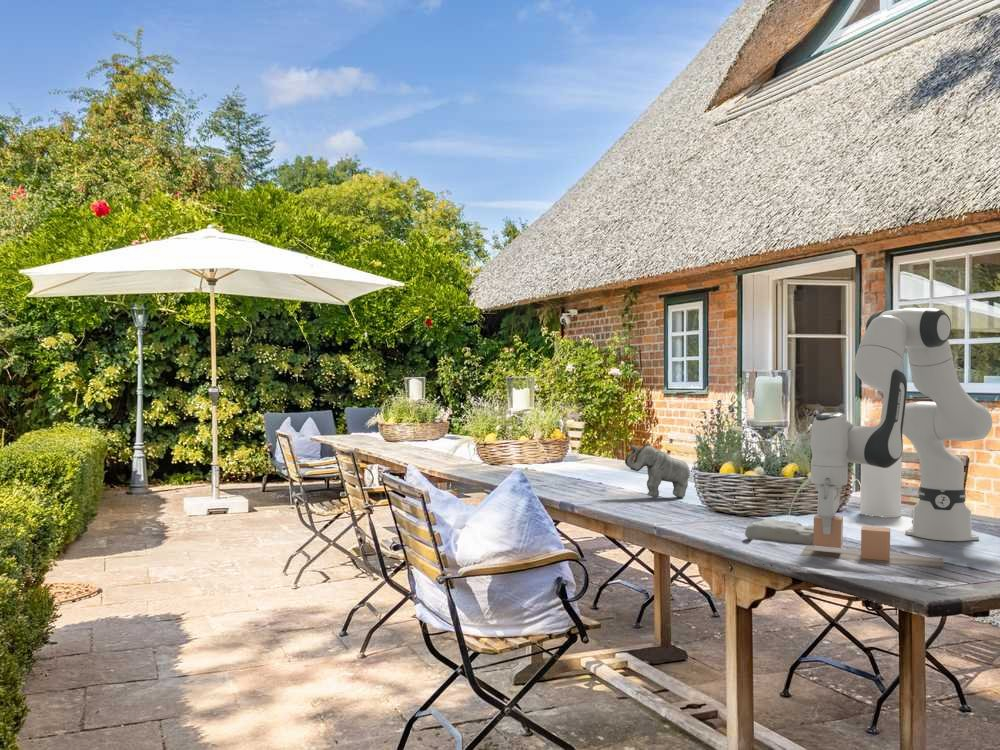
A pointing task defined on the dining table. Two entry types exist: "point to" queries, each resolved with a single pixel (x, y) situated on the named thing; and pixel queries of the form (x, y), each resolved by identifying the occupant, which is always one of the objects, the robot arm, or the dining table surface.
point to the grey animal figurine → (659, 469)
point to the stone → (780, 531)
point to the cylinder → (881, 490)
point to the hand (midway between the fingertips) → (828, 531)
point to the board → (856, 555)
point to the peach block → (828, 539)
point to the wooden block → (875, 543)
